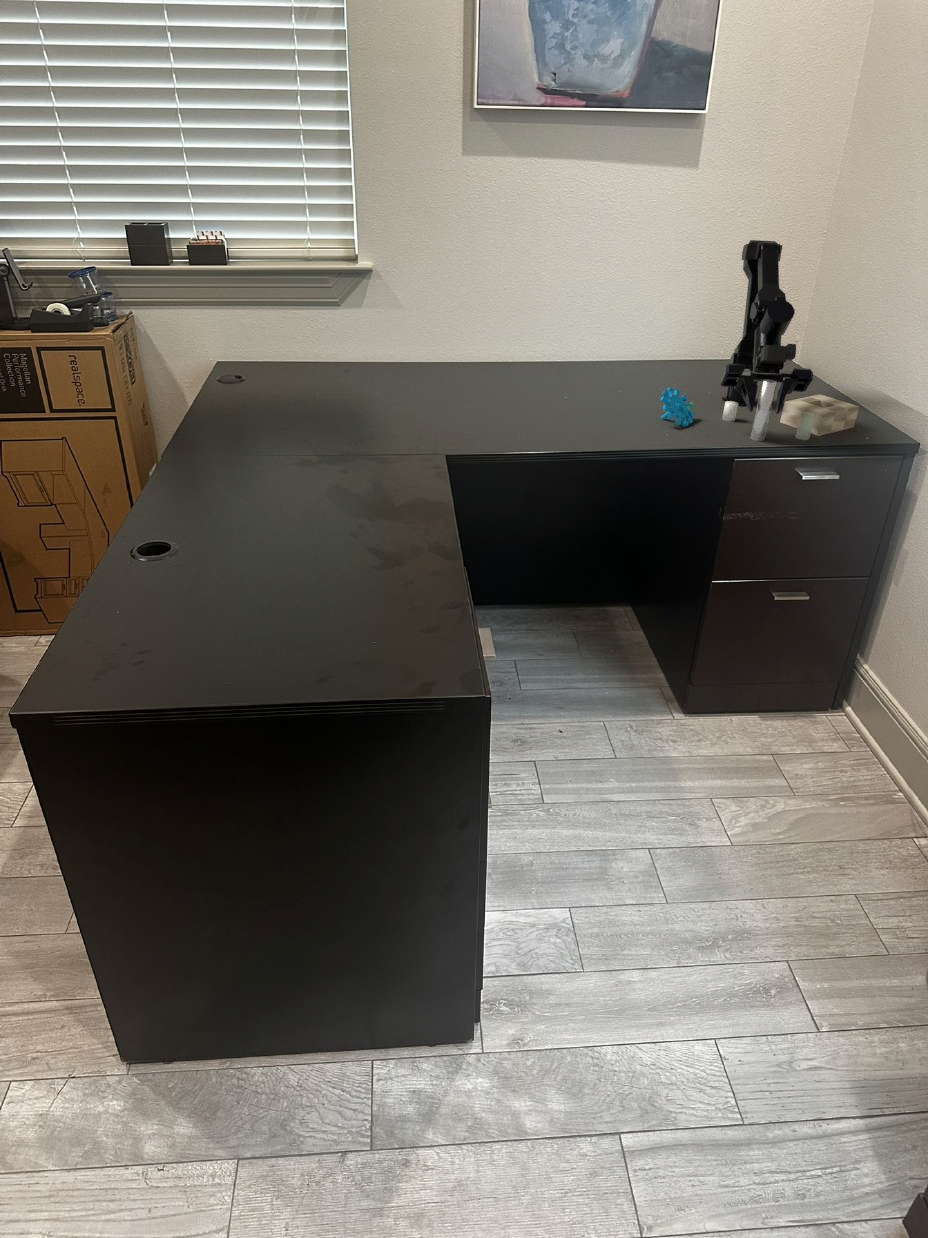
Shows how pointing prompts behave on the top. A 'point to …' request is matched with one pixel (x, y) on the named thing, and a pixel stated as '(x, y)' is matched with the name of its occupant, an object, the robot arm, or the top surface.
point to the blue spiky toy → (677, 407)
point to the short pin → (730, 411)
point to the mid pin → (805, 426)
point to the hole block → (821, 413)
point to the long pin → (763, 410)
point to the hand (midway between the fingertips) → (764, 412)
